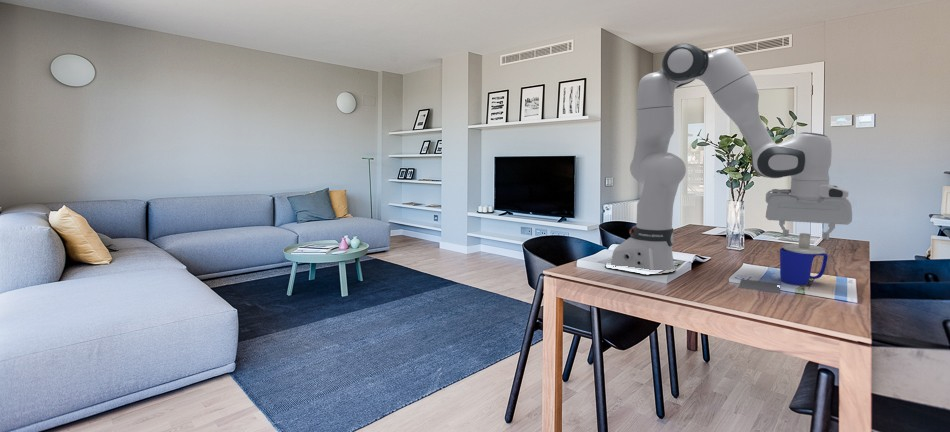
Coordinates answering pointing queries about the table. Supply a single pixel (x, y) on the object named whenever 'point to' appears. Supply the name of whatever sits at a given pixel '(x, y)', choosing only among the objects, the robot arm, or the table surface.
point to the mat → (759, 285)
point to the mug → (798, 267)
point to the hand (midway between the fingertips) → (805, 237)
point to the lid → (804, 246)
